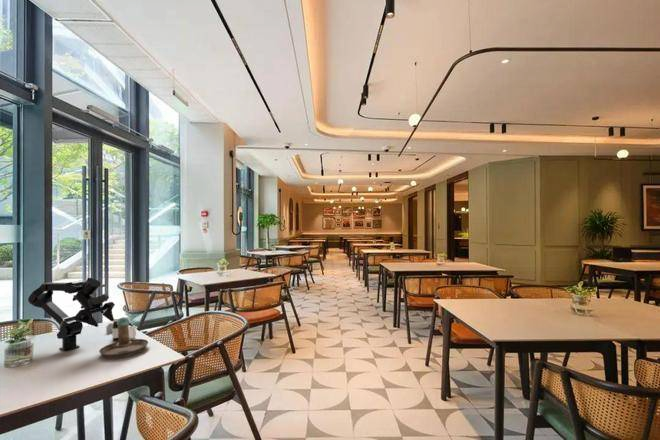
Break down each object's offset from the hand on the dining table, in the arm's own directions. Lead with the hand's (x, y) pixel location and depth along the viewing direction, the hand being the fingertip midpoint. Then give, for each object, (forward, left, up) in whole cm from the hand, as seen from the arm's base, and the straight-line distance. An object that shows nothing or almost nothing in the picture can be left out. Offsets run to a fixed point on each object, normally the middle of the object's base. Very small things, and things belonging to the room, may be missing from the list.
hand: (105, 323), depth 169 cm
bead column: (+10, +3, -11) cm, 15 cm away
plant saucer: (+10, +4, -14) cm, 18 cm away
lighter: (-29, +20, -14) cm, 38 cm away
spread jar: (-11, +16, -14) cm, 24 cm away
